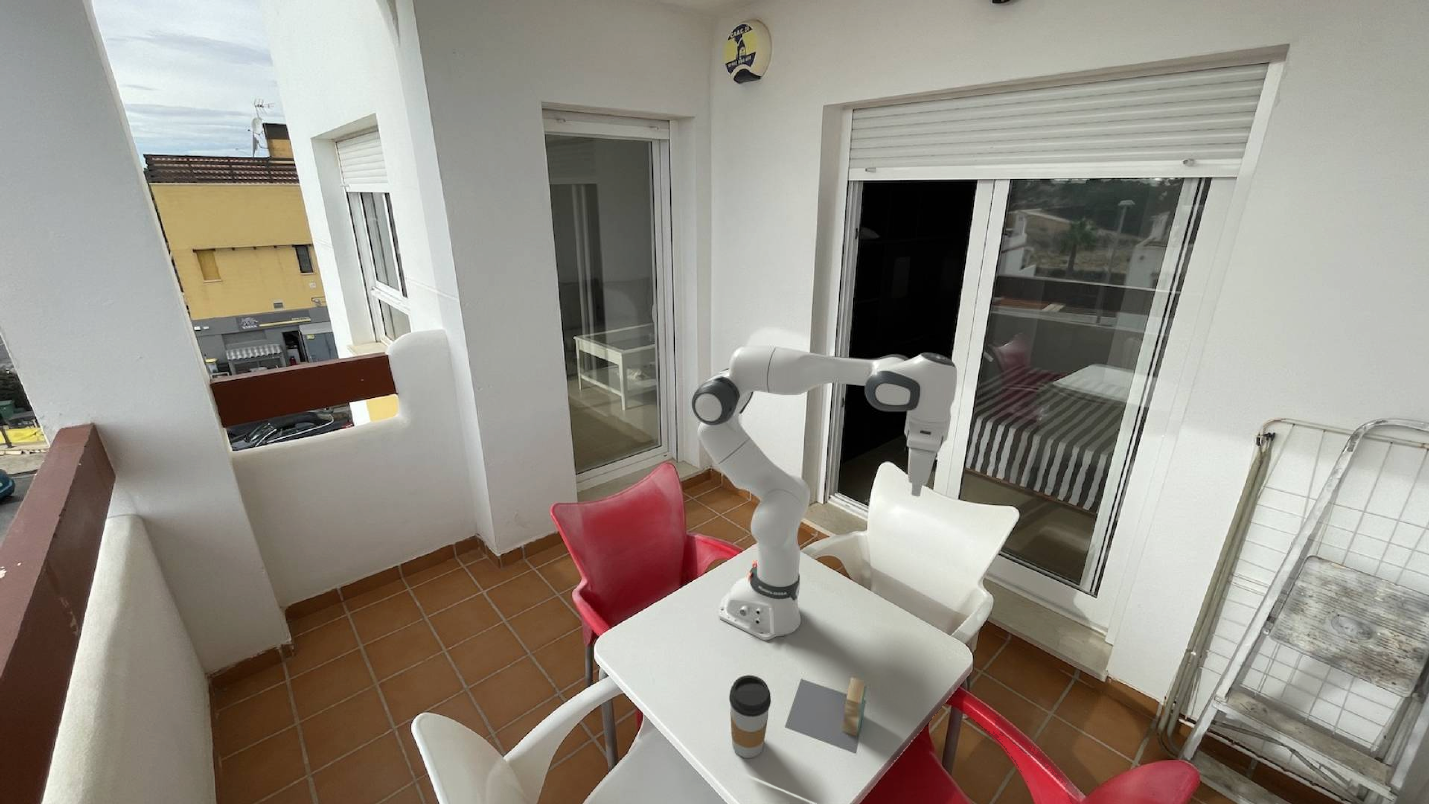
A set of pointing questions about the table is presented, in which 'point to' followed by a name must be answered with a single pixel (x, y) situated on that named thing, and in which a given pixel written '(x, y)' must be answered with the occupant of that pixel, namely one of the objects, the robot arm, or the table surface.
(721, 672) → the table surface
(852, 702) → the plaque
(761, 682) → the coffee cup
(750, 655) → the table surface
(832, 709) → the mat
